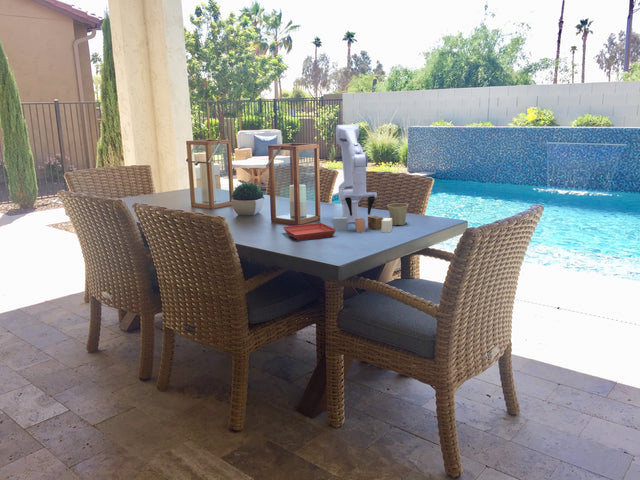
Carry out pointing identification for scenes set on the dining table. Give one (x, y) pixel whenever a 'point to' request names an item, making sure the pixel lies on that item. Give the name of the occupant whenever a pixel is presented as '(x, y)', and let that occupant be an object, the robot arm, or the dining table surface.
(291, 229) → the plant saucer
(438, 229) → the dining table surface
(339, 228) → the slate-blue brick
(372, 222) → the walnut brick
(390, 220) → the cream brick
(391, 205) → the flower pot
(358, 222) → the terracotta brick
